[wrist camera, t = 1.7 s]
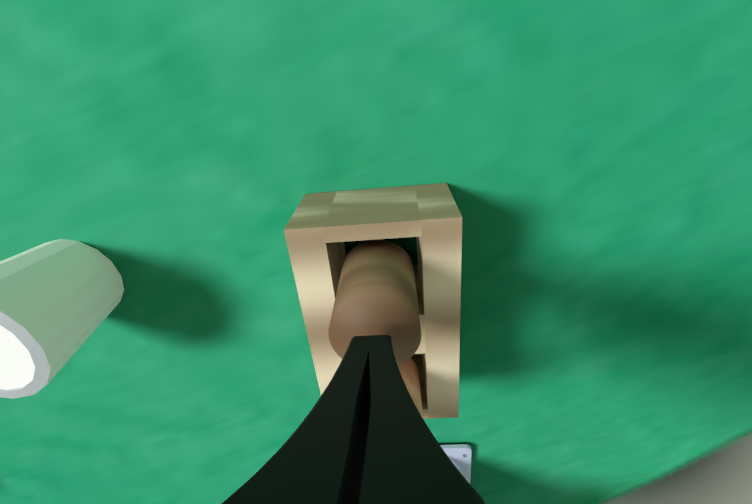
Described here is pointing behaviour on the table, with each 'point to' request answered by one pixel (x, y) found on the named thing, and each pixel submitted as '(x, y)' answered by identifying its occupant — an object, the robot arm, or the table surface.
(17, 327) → the white cup
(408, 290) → the walnut peg
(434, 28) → the table surface
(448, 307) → the maple block
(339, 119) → the table surface
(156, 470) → the table surface
